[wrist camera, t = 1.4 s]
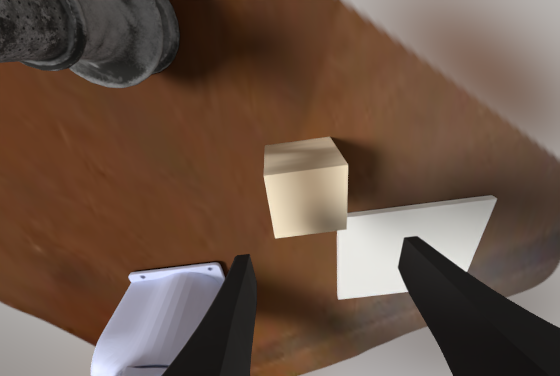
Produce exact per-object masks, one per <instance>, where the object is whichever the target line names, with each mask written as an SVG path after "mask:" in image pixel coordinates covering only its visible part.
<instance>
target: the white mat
mask: <svg viewBox="0 0 560 376" xmlns="http://www.w3.org/2000/svg"><path fill="white" fill-rule="evenodd" d="M496 201H497V198H495V197H494V196H493V195H488V196H480V197H472V198H464V199H456V200H448V201H440V202H432V203H424V204H416V205H408V206H400V207H392V208H384V209H376V210H368V211H360V212H352V213H347V230H339V231H337V296H338V300H339V299H348V298H357V297H366V296H374V295H383V294H392V293H401V292H408V290H407V288H406V286H405V284H404V282H403V279H402V277H401V275H400V272H399V270H398V263H399V259H400V254H401V249H402V244H403V240H404V237H412V236H418V237H420V238H421V239H422V240H424V241H425V242H426V243H428V244H429V245H430V246H432V247H433V248H434V249H436V250H437V251H438V252H440V253H441V254H442V255H444V256H445V257H446V258H448V259H449V260H451V261H452V262H453V263H455V264H456V265H457V266H459V267H460V268H462V269H463V270H464V271H466V272H467V271H468V268H469V266H470V263H471V261H472V258H473V256H474V254H475V251H476V249H477V246H478V244H479V242H480V239H481V237H482V234H483V232H484V230H485V227H486V225H487V222H488V220H489V218H490V215H491V213H492V210H493V208H494V205H495V203H496Z"/></svg>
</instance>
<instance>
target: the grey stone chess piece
mask: <svg viewBox="0 0 560 376" xmlns="http://www.w3.org/2000/svg"><path fill="white" fill-rule="evenodd" d="M179 39H180V33H179V26H178V20H177V17H176V15H175V12H174V9H173V7H172V5H171V3H170V2H169V0H0V62H15V61H19V62H21V63H23V64H25V65H27V66H30V67H33V68H37V69H40V70H48V71H59V70H63V69H67V68H69V69H71V70H72V71H73V72H74V73H76V74H77V75H79V76H81V77H83V78H85V79H86V80H88V81H90V82H92V83H95V84H99V85H102V86H105V87H112V88H125V87H129V86H133V85H137V84H139V83H140V82H142V81H144V80H145V79H147V78H148V77H149V76H150V75H151V74H154V73H158V72H161V71H162V70H164V69H165V68H167V67H168V66H169V65H170V64H171V62H172V61H173V60H174V59H175V56H176V54H177V51H178V48H179Z"/></svg>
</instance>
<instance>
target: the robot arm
mask: <svg viewBox="0 0 560 376" xmlns="http://www.w3.org/2000/svg"><path fill="white" fill-rule="evenodd" d="M210 267H211V268H210ZM398 270H399V272H400V275H401V277H402V279H403V282H404V284H405V286H406V288H407V290H408V292H409V294H410V296H411V297H412V299H413V301H414V303H415V305H416V306H417V308H418V310H419V312H420V313H421V315H422V317H423V318H424V320H425V322H426V324H427V325H428V327H429V329H430V330H431V332H432V334H433V336H434V337H435V339H436V341H437V343H438V345H439V347H440V349H441V351H442V353H443V355H444V357H445V359H446V361H447V363H448V366H449V368H450V370H451V372H452V374H453V376H560V328H559V327H557V326H555V325H553V324H550V323H549V322H547V321H545V320H543V319H542V318H540V317H538V316H536V315H534V314H533V313H531V312H529V311H527V310H525V309H524V308H522V307H521V306H519V305H517V304H515V303H514V302H512V301H510V300H509V299H507V298H505V297H504V296H502V295H501V294H499V293H497V292H496V291H494V290H493V289H491V288H490V287H488V286H487V285H485V284H484V283H482V282H480V281H479V280H477V279H476V278H475V277H473V276H472V275H470V274H469V273H467V272H466V271H464V270H463V269H462V268H460V267H459V266H457V265H456V264H455V263H453V262H452V261H451V260H449V259H448V258H446V257H445V256H444V255H442V254H441V253H440V252H438V251H437V250H436V249H434V248H433V247H432V246H430V245H429V244H428V243H426V242H425V241H424V240H422V239H421V238H420V237H418V236H412V237H404V240H403V244H402V249H401V254H400V259H399V263H398ZM129 279H130V281H131V282H132V283H131V284H130V286H129V288H128V290H127V291H126V293H125V295H124V296H123V298H122V300H121V302H120V303H119V305H118V307H117V309H116V310H115V312H114V314H113V316H112V317H111V319H110V321H109V322H108V324H107V326H106V328H105V329H104V331H103V333H102V335H101V336H100V338H99V340H98V343H97V345H96V348H95V351H94V354H93V359H92V364H91V376H250V364H251V352H252V343H253V334H254V325H255V315H256V305H257V281H256V277H255V274H254V270H253V266H252V262H251V258H250V254H246V255H237V256H236V257H235V258H234V261H233V263H232V265H231V268H230V270H229V272H228V274H227V276H226V278H225V276H224V273H223V270H222V268H221V265H220V264H219V263H217V262H214V263H206V264H197V265H189V266H181V267H173V268H164V269H156V270H148V271H139V272H132V273H130V275H129Z"/></svg>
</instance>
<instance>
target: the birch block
mask: <svg viewBox="0 0 560 376" xmlns="http://www.w3.org/2000/svg"><path fill="white" fill-rule="evenodd" d="M264 180H265V186H266V191H267V196H268V202H269V207H270V213H271V218H272V224H273V229H274V234H275V238H282V237H290V236H298V235H306V234H314V233H322V232H331V231H339V230H347V196H348V164H347V162H346V161H345V159H344V158H343V156H342V155H341V153H340V151H339V150H338V148H337V147H336V145H335V144H334V142H333V141H332V139H331V138H330V137H325V138H317V139H310V140H303V141H295V142H288V143H281V144H273V145H266V146H265V155H264Z"/></svg>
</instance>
